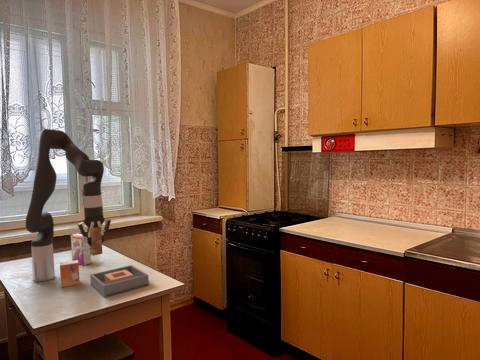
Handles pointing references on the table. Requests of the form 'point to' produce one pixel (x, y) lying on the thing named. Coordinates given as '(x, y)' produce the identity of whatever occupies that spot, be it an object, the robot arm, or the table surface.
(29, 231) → the robot arm
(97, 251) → the walnut peg
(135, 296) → the table surface
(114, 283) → the walled bin
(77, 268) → the small box
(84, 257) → the candy bar box
